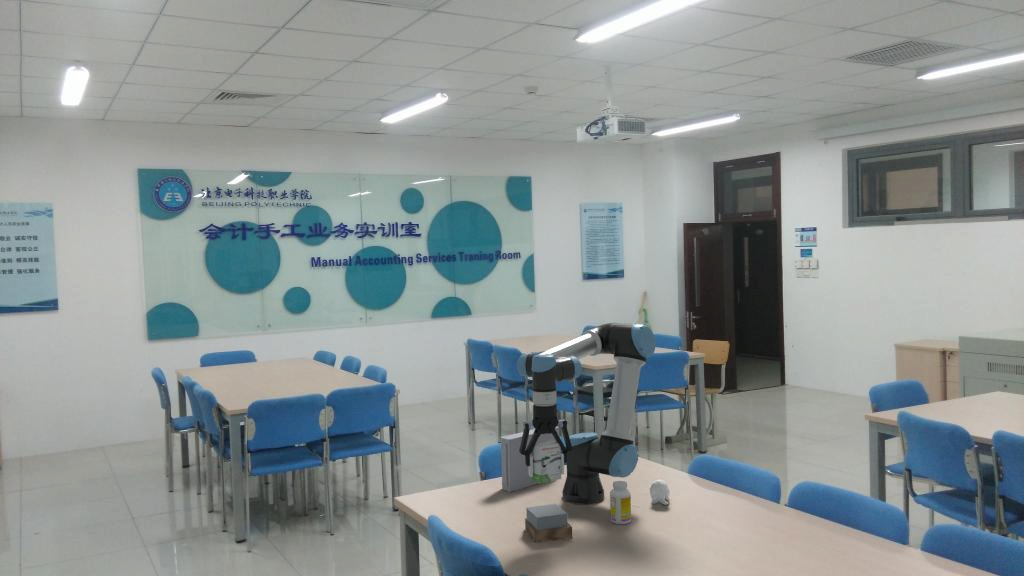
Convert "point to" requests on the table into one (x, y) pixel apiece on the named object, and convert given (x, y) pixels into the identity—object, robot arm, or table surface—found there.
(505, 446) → the game console
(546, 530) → the walnut base block
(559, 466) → the ink box
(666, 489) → the white octopus figurine
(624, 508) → the supplement bottle
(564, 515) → the slate-grey top block
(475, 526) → the table surface
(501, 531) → the table surface
